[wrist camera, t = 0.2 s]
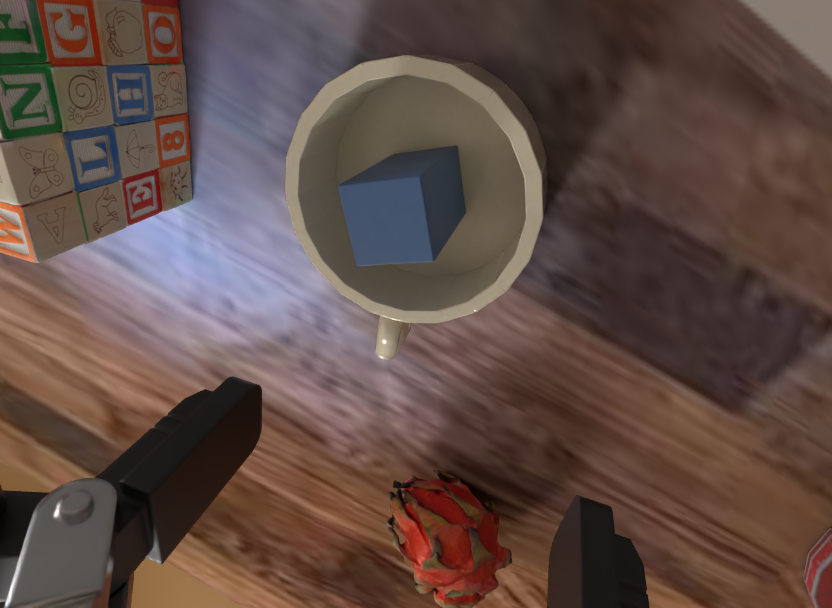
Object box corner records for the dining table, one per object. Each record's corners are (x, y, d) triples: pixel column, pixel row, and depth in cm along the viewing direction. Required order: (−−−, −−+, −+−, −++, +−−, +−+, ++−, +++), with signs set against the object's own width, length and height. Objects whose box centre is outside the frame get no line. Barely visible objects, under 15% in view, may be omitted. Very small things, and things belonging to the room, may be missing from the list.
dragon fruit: (498, 538, 44) (421, 434, 43) (557, 566, 36) (465, 440, 36) (432, 614, 41) (347, 503, 40) (482, 663, 33) (378, 526, 32)
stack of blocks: (66, -217, 25) (-295, -410, 15) (169, -204, 24) (-139, -401, 14) (121, 182, 36) (-65, 236, 25) (195, 203, 35) (32, 267, 24)
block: (392, 153, 29) (336, 185, 22) (457, 144, 27) (420, 175, 21) (404, 218, 30) (355, 266, 24) (466, 213, 29) (434, 262, 22)
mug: (338, 34, 27) (289, 30, 22) (581, 84, 25) (583, 91, 20) (318, 298, 36) (279, 335, 31) (497, 353, 33) (485, 401, 29)
